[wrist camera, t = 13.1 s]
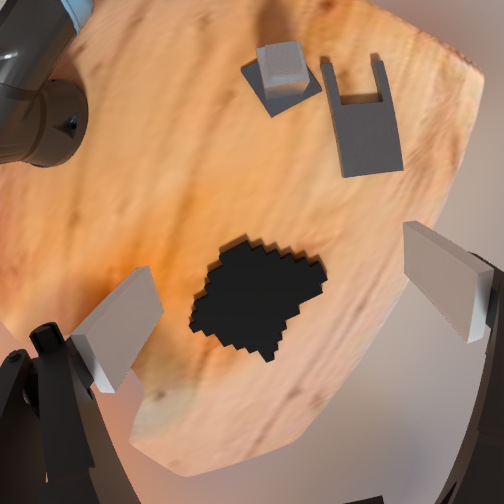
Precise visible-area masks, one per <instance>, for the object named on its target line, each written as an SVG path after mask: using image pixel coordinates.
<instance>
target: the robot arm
mask: <svg viewBox="0 0 504 504" xmlns="http://www.w3.org/2000/svg"><path fill="white" fill-rule="evenodd" d="M93 10H94V2H93V0H0V164H5V163H10V162H16V161H22V162H25V163H30V164H32V165H34V166H36V167H40V168H48V167H54V166H58V165H61V164H63V163H64V162H66V161H67V160H69V159H70V158H71V157H72V156H73V155H74V153H75V152H76V151H77V149H78V148H79V146H80V144H81V142H82V140H83V137H84V135H85V131H86V127H87V121H88V107H87V102H86V98H85V96H84V93H83V92H82V90H81V89H80V88H79V86H77V85H76V84H75V83H73V82H71V81H68V80H64V79H50V80H47V79H48V77H49V76H50V74H51V73H52V71H53V69H54V68H55V66H56V65H57V63H58V61H59V60H60V58H61V57H62V55H63V54H64V52H65V51H66V50H67V48H68V47H69V45H70V44H71V42H72V41H73V40H74V38H75V37H77V36H78V35H79V33H80V30H81V28H82V27H83V25H84V24H85V23H86V21H87V20H88V19H89V17H90V16H91V14H92V12H93ZM403 235H404V273H405V274H406V275H407V277H408V278H409V279H410V280H411V281H412V282H413V283H414V284H415V285H416V286H417V287H418V288H419V289H420V290H421V291H422V293H424V295H425V296H426V297H427V298H428V299H429V300H430V301H431V302H432V304H433V305H434V306H435V307H436V308H437V309H438V310H439V311H440V312H441V314H442V315H443V316H444V317H445V318H446V319H447V320H448V322H449V323H450V324H451V325H452V326H453V327H454V329H455V330H456V331H457V332H458V333H459V335H460V336H461V337H462V338H463V339H464V340H465V342H466V343H470V342H473V341H475V340H479V339H481V338H483V333H484V329H485V325H486V324H487V325H488V326H489V327H490V328H491V332H490V337H489V341H488V345H487V349H486V353H485V354H486V359H485V364H484V369H483V374H482V378H481V382H480V386H479V390H478V394H477V398H476V402H475V405H474V408H473V412H472V415H471V418H470V422H469V425H468V428H467V431H466V434H465V437H464V439H463V442H462V445H461V448H460V450H459V453H458V455H457V458H456V460H455V463H454V466H453V468H452V470H451V472H450V475H449V477H448V479H447V481H446V483H445V486H444V488H443V490H442V492H441V493H440V495H439V497H438V499H437V500H436V502H435V504H504V272H503V271H501V270H499V269H498V268H497V267H495V266H494V265H492V264H491V263H489V262H488V261H486V260H483V258H481V257H480V256H478V255H477V254H474V253H471V252H468V251H466V250H464V249H463V248H461V247H460V246H458V245H456V244H455V243H453V242H452V241H450V240H448V239H447V238H445V237H443V236H441V235H440V234H438V233H437V232H435V231H433V230H431V229H430V228H428V227H426V226H425V225H423V224H421V223H419V222H417V221H410V222H404V223H403ZM163 313H164V310H163V307H162V305H161V302H160V299H159V296H158V293H157V290H156V287H155V284H154V281H153V277H152V274H151V271H150V268H149V266H145V267H139V268H136V269H135V270H134V271H133V272H132V273H131V274H130V275H129V276H128V277H127V278H126V279H124V280H123V281H122V282H121V283H120V284H119V285H118V286H117V287H116V288H115V289H114V290H113V291H112V292H111V293H110V294H109V295H108V296H107V297H106V298H105V299H104V300H103V301H102V302H101V303H100V304H99V305H98V306H97V307H96V308H95V309H94V310H93V311H92V312H91V313H90V314H89V315H88V316H87V317H86V318H85V320H84V321H83V322H82V323H81V324H80V325H79V326H78V327H77V328H76V329H75V330H74V331H73V332H72V333H71V334H70V337H69V338H68V339H67V340H66V341H64V338H63V336H62V334H61V332H60V330H59V328H58V326H57V324H56V323H55V322H49V323H46V324H43V325H41V326H39V327H37V328H36V329H34V330H33V331H32V332H31V333H30V336H29V337H30V339H31V341H32V343H33V345H34V347H35V349H36V351H37V352H38V354H39V357H37V358H33V359H31V358H30V356H29V354H28V353H27V351H26V350H25V349H19V350H17V351H16V350H15V351H13V352H11V353H10V354H9V355H8V356H7V357H6V358H5V360H4V361H3V363H2V365H1V367H0V504H141V502H140V501H139V499H138V497H137V495H136V493H135V491H134V489H133V487H132V485H131V483H130V481H129V479H128V477H127V475H126V473H125V471H124V469H123V467H122V464H121V462H120V460H119V458H118V456H117V453H116V451H115V449H114V446H113V444H112V441H111V439H110V436H109V434H108V432H107V429H106V426H105V424H104V421H103V418H102V415H101V413H100V410H99V407H98V404H97V401H96V398H95V395H94V393H93V391H92V390H91V388H90V386H91V384H92V383H93V381H94V382H95V383H96V385H97V387H98V389H99V390H100V392H107V393H116V391H117V389H118V388H119V386H120V384H121V383H122V381H123V379H124V378H125V376H126V374H127V372H128V371H129V369H130V367H131V366H132V364H133V362H134V360H135V359H136V357H137V355H138V354H139V352H140V350H141V349H142V347H143V345H144V344H145V342H146V340H147V339H148V337H149V336H150V334H151V332H152V331H153V329H154V327H155V326H156V324H157V322H158V321H159V319H160V318H161V316H162V314H163ZM24 398H25V399H24ZM25 400H26V401H27V402H26V401H25ZM46 472H47V477H48V482H47V483H46ZM345 504H384V502H383V497H382V496H377V497H373V498H369V499H365V500H360V501H355V502H350V503H345Z"/></svg>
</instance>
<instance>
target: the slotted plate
mask: <svg viewBox="0 0 504 504" xmlns="http://www.w3.org/2000/svg"><path fill="white" fill-rule="evenodd" d="M371 66H372V69H373V73H374V78H375V82H376V86H377V90H378V95H379V100H380V102H374V103H360V104H349V105H341V100H340V95H339V91H338V86H337V82H336V78H335V74H334V70H333V66H332V63H326V64H322V65H321V66H320V67H321V71H322V75H323V80H324V84H325V88H326V93H327V97H328V102H329V107H330V111H331V116H332V121H333V126H334V132H335V137H336V143H337V148H338V154H339V160H340V166H341V173H342V177H343V178H347V177H354V176H362V175H369V174H377V173H385V172H393V171H402V170H403V161H402V154H401V147H400V140H399V134H398V128H397V122H396V117H395V112H394V107H393V102H392V97H391V92H390V88H389V83H388V79H387V75H386V71H385V67H384V63H383V61H373V62H372V63H371Z"/></svg>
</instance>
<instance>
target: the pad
mask: <svg viewBox="0 0 504 504" xmlns="http://www.w3.org/2000/svg"><path fill="white" fill-rule="evenodd" d="M306 67H307V66H306ZM307 71H308V75H309V79H310V82H309V84H308V85H307V87H306V89H305V91H304V92H303V94H298V95H291V96H284V97H278V98H272V99H267V100H266V97H265V93H264V88H263V84H262V79H261V75H260V70H259V66H258V61H257V62H255V63H253V64H251V65H249V66H248V67H246V68H244V69H242V70H241V72H242V74H243V75H244V77H245V78H246V80H247V81H248V82H249V84H250V85H251V87H252V88H253V90H254V91H255V93H256V94H257V96H258V97H259V99H260V101H261V102H262V104H263V105H264V107H265V108H266V110H267V111H268V113H269V114H270V116H271V118H272V117H274V116H276V115H277V114H279V113H281V112H283V111H285V110H287V109H288V108H290V107H292V106H294V105H296V104H298V103H300V102H302V101H303V100H305V99H307V98H309V97H311V96H313V95H315V94H317V93H319V92H321V91H322V89H321V88H320V86H319V84H318V83H317V81H316V80H315V78H314V77H313V75H312V74H311V72H310V71H309V69H308V68H307Z"/></svg>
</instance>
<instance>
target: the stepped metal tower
mask: <svg viewBox="0 0 504 504" xmlns="http://www.w3.org/2000/svg"><path fill="white" fill-rule="evenodd" d="M256 53H257V60H258V66H259V70H260V75H261V79H262V84H263V88H264V93H265V97H266V100H267V99H272V98H278V97H284V96H291V95H298V94H303V92H304V91H305V89H306V87H307V85H308V84H309V82H310V79H309V75H308V71H307V67H306V63H305V59H304V55H303V51H302V47H301V43H300V42H296V41H290V42H283V43H276V44H269V45H265V47H260V48H256Z"/></svg>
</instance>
